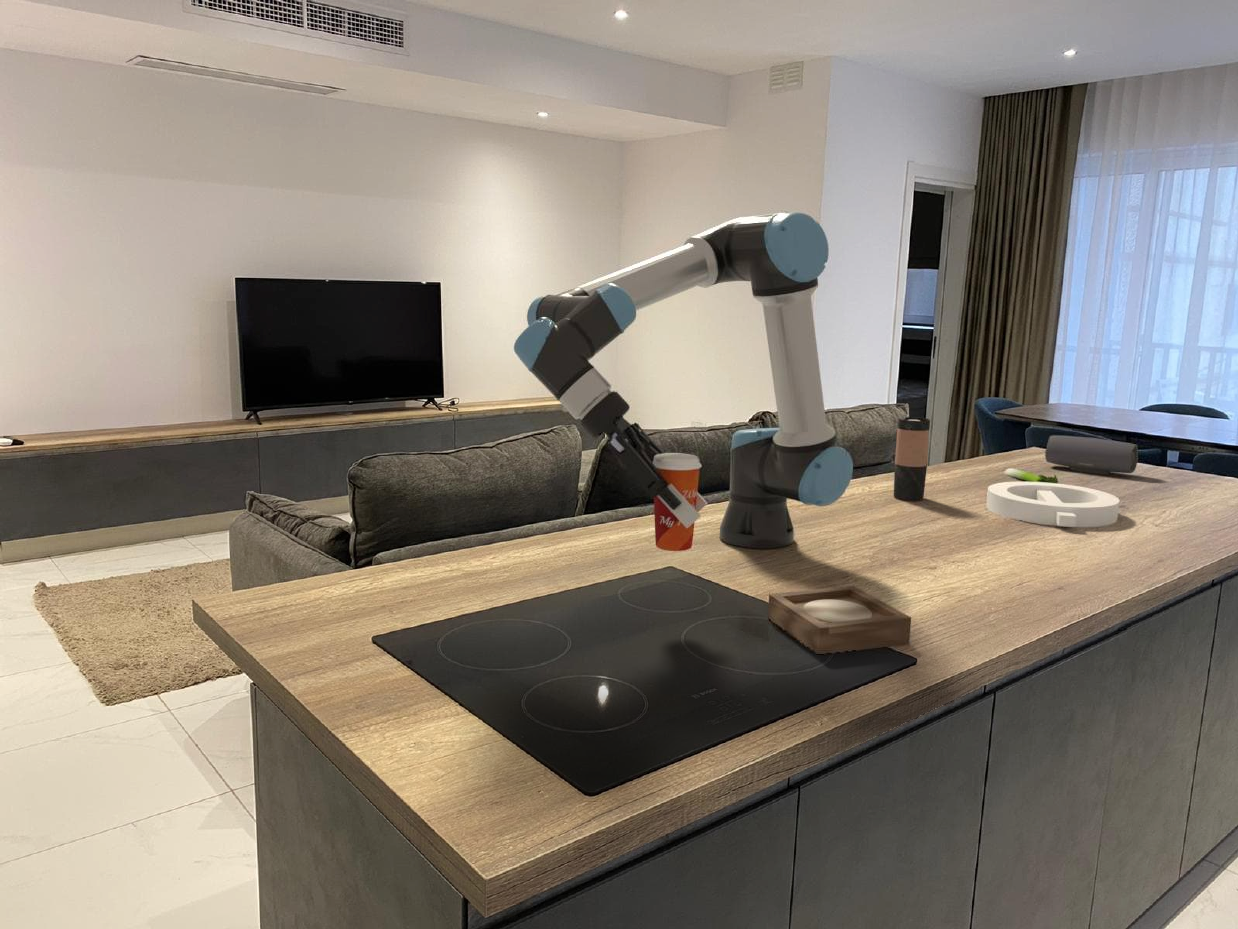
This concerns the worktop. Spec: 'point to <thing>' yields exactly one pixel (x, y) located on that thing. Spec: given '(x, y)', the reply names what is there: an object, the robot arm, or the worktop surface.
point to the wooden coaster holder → (839, 619)
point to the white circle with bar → (1053, 504)
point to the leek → (1030, 476)
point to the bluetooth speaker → (1092, 454)
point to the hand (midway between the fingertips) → (697, 515)
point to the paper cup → (685, 479)
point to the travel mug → (911, 458)
